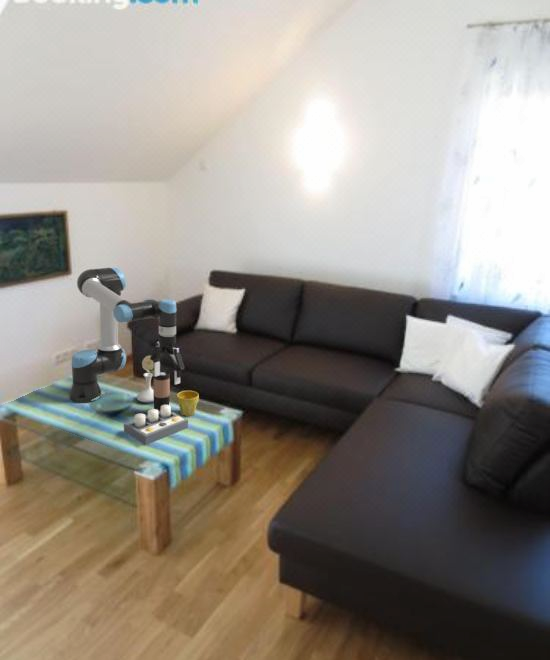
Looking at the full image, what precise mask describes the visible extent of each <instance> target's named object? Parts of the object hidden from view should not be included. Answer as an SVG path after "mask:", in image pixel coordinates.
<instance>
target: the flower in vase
mask: <svg viewBox="0 0 550 660" xmlns="http://www.w3.org/2000/svg"><path fill="white" fill-rule="evenodd" d="M150 357H151V355H147V356H145V357H144V358H143V360H142V361H141V365H142V368H143V370H145V373H143V377H144V380H145V388H144V389H143V390H141V391H139V393H137V396H136V399H137V400H138V401H139V402H142V403H154V397H153V391H154V388H152V387H151V383H152V382H151V381H152V378H153V377H154V362H153V360H151V359H150Z"/></svg>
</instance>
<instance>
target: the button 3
mask: <svg viewBox="0 0 550 660" xmlns="http://www.w3.org/2000/svg"><path fill="white" fill-rule="evenodd" d="M171 409H172V406H171V405H170V404H169V405H162V406H161V416H160V417H161V418H163V419H167V418H169V417H171V412H172V411H171Z"/></svg>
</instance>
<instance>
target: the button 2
mask: <svg viewBox="0 0 550 660" xmlns="http://www.w3.org/2000/svg"><path fill="white" fill-rule="evenodd" d="M147 415H148V422H149V423H151V424H153V423H156V422H158V410H157V409H154V408H151V409H150V408H149V409H148V410H147Z"/></svg>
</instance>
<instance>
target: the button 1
mask: <svg viewBox="0 0 550 660" xmlns="http://www.w3.org/2000/svg"><path fill="white" fill-rule="evenodd" d="M145 416H146V414H145V413H136V414H134V420H135V427H136V428H138V429H140V428H143V427H145Z"/></svg>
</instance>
